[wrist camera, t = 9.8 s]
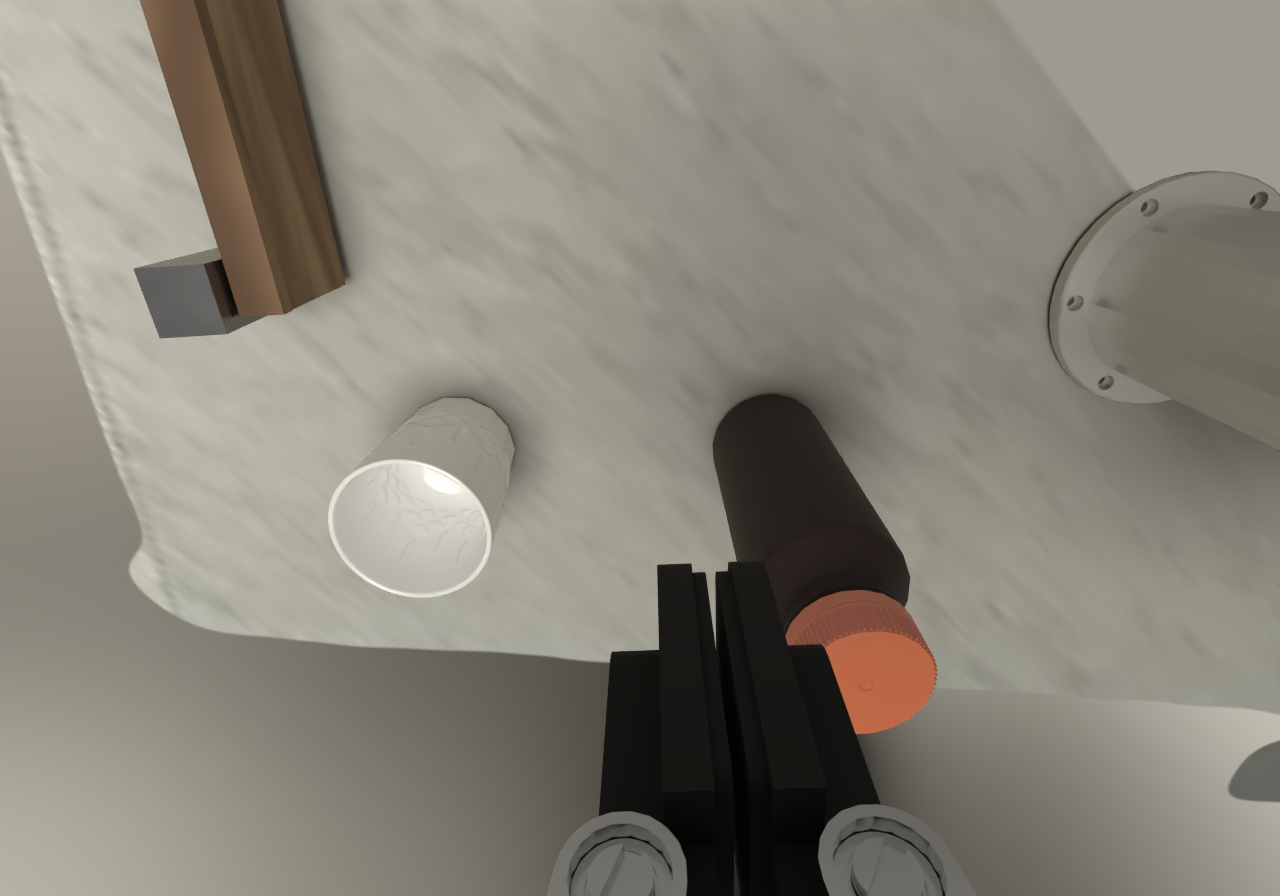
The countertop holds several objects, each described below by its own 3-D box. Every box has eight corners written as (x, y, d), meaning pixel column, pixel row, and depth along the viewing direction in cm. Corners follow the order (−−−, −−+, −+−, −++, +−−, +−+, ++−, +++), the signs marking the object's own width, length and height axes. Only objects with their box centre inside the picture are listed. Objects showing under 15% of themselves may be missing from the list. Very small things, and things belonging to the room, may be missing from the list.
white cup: (378, 400, 40) (300, 476, 31) (504, 375, 39) (462, 445, 30) (422, 510, 43) (363, 609, 34) (538, 489, 42) (510, 584, 33)
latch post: (303, 236, 36) (203, 263, 27) (318, 291, 37) (226, 334, 29) (249, 240, 36) (133, 268, 28) (266, 295, 37) (160, 338, 29)
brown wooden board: (258, -82, 29) (151, -146, 23) (347, 283, 36) (283, 314, 29) (214, -79, 29) (94, -141, 23) (311, 286, 36) (240, 316, 29)
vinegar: (813, 381, 39) (962, 588, 21) (827, 479, 42) (970, 736, 24) (701, 406, 40) (752, 628, 22) (723, 501, 43) (784, 768, 24)
